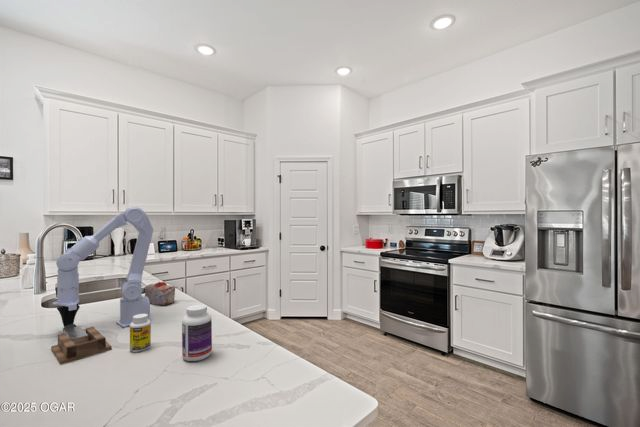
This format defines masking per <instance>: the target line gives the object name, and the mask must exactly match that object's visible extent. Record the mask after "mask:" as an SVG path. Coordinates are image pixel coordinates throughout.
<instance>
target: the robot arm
mask: <svg viewBox="0 0 640 427" xmlns="http://www.w3.org/2000/svg"><path fill="white" fill-rule="evenodd" d="M127 222H128V223H129V224H131V225H132V226H133V227H134V229H136V231H137V232H138V234H137V237H136V238H137V239H136V243H135V246H134V250H133V254H132V258H131V261H130V262H131V263H130V266H129V270H128V273H127V275H126V279H125V281H124V282H123V283H122V284H121V286H120V291H121V295H122V297H121V298H120V299H119V310H120V311H119V316H120V317H119V318H120V319H119V320H117V321H116V323H117V324H118V325H119V326H121V327H122V328H126V327H130V324H131V323H132V322H133V316H135V315H138V314H148V320H150V321H151V303H150V301H149V298H148V297H147V296H145V295H144V296H143V295H142V293H143V288H142V281H143V274H144V269H145V266H146V262H147V259H148V258H147V256H148V254H149V250H150V246H151V245H150V244H151V241H152V237H153V233H154V228H153V225H152V223H151V222H150V219H149V216H148V214H147V213H146V212H145V211H144V209H143V208H141V207H139V206H130V207H128V208H126V209H125V211H122V212H120V213H118V214H116V215H115V216H114V217H113V218H111V219H110V220H109V221H108V222H107V223H105V224H104V225H103V226H101V227H100V228H99V229H98V230H97V231H96V232H95V233H93V235H85V236H84V237H79V238H78V239H77V242H76V243H75V244H73V246H71V247H70V248H67V249H65V250H64V251H65V253H62V254H61V255H59V257H58V258H57V260H56V264H55V265H56V267H57V276H56V279H57V280H56V283H57V284H56V285H57V286H56V292H57V293H56V294H57V298H56V301H52V305H53V306H57V307H56V310H57V311H58V313H59V314H60V317H61V322H62V324H63V328H64V327H65V326H66V325H67V324H70V323H73V324H75V323H74V322H75V320H76V315H77V312H78V311H79V310H80V305H79V302H80V297H79V296H80V280H79V278H80V274H79V268H78V267H79V266H78V265H79V264H80V261H85V260H86V258H88V257H89V256H90V255H92V254H93V253H94V252H95V251H96V250H97V249H99V247H100V242H101V241H102V240H103V239H104V238H106V237H107V236H109V235H110V234H111V233H112V232H114V231H115V230H116V229H117V228H119V227H123V226H127V225H128V223H127Z"/></svg>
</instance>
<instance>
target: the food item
mask: <svg viewBox="0 0 640 427" xmlns="http://www.w3.org/2000/svg"><path fill="white" fill-rule="evenodd" d="M145 296H147V297H148V298H149V301H150V305H151V304H152V305H153V306H157V305H158V306H168V305H171V304H174V303H175V296H176V286H175V285H168V283H167V282H165V281H162V282H161V281H158V282H156V283H150V284H148V285H146V286H145V287H144V297H145Z"/></svg>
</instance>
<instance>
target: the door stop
mask: <svg viewBox="0 0 640 427" xmlns="http://www.w3.org/2000/svg"><path fill="white" fill-rule="evenodd" d="M62 332H63V334H64V333H66V334H67V335H68V336H69V337H70V339H71V340H72V341H73V342H74V344H75V345H77V344H81V343H85V342H88V334H87V333H86V330H85V329H83V328H82V327H81V326H80V325H78V326H77V325H76V324H75V323H70V324H67V325H66V326H65V327H64V326H63V327H62Z"/></svg>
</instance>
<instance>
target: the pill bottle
mask: <svg viewBox="0 0 640 427" xmlns="http://www.w3.org/2000/svg"><path fill="white" fill-rule="evenodd" d="M185 311H186V315H184V317H183V318H182V319H181V339H182V340H181V346H182V347H181V355H182V356H181V357H182V358H183V359H184V360H185V361H187V362H198V361H202V360H205V359H206V358H208V357H210V355H212V351H213V348H212V347H213V344H212V342H213V339H212V337H213V334H212V333H213V332H212V331H213V329H212V327H213V326H212V325H213V324H212V323H213V322H212V314H210V313H209V312H207V311H208V306H207V305H206V304H193V305H190V306H188V307H186V310H185Z"/></svg>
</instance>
